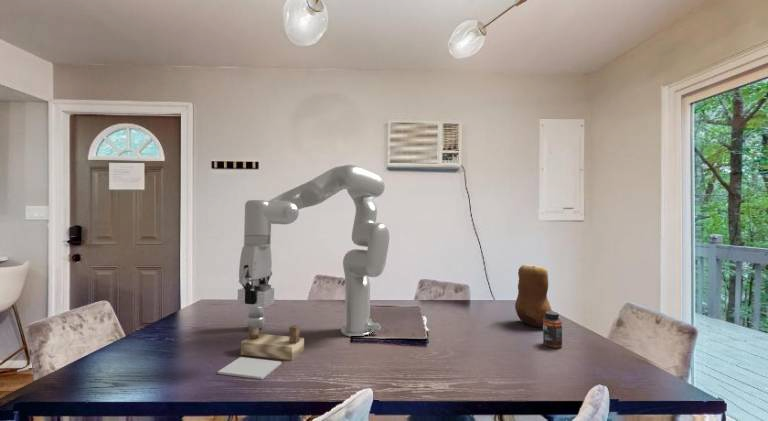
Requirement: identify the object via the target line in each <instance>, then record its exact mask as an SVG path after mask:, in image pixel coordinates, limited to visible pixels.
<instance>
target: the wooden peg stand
mask: <svg viewBox="0 0 768 421" xmlns="http://www.w3.org/2000/svg"><path fill="white" fill-rule="evenodd" d="M288 328H289V330H288V331H289V332H288V335H289V336H287V335H277V334H276V335H275V334H265V333H260V329H259V328H258V327H253V328H250V329H249V328H248V335H247V338H246V339H244V340H242V341H241V342H240V355H243V356H252V357H261V358H270V359H278V360H279V359H280V360H285V361H286V360H287V361H293V360H294V359H295V358H297V357H298V356H299V355H300V354H301V353H302V352H304V351H305V338H304V337H301V336H300V335H301V334H300V333H301V332H300V328H301V325H300V324H292V325H291V326H289V327H288Z"/></svg>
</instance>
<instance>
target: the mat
mask: <svg viewBox="0 0 768 421" xmlns="http://www.w3.org/2000/svg"><path fill="white" fill-rule="evenodd" d="M280 365H282V361H280V360H270V359H263V358H262V359H261V358H254V357H253V358H251V357H243V356H239V357H238V358H236V359H235V360H233V361H232V362H231V363H229V364H227V365H226V366H224V367H222V368H221V369H219V370H218V371H217V375H224V376H225V375H226V376H234V377H241V378H247V379H257V380H263V379H264V378H265V377H267V376H268V375H269V374H270V373H272V372H273V371H274V370H276V369H277V368H278V367H279V366H280Z"/></svg>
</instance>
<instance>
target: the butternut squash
mask: <svg viewBox="0 0 768 421" xmlns="http://www.w3.org/2000/svg"><path fill="white" fill-rule="evenodd" d="M517 275H518V282H517V283H518V284H517V292H518V294H517V297H516V300H515V304H514V309H515V311H516V315H517V317H518V318H519V320H520V321H521V322H522V323H524V324H527V325H529V326H530V327H535V328H538V327H543V319H544V318H545V317H546V312H547V311H552V307H551V304H550V301H549V298H548V292H549V291H548V290H549V276H548V275H549V274H548V270H547V269H546V268H545V267H544V266H540V265H536V264H534V263H533V264H532V263H527V264H525V263H524V264H522V265H520V267H519V269H518V272H517ZM552 312H553V311H552Z"/></svg>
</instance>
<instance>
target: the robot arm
mask: <svg viewBox="0 0 768 421" xmlns="http://www.w3.org/2000/svg"><path fill="white" fill-rule="evenodd" d="M382 178H383V177H381V176H379V175H378V174H377V173H374V172H372V171H369V170H366V169H365V168H362V167H360V166H358V165H357V166H356V165H354V164H347V165H346V164H345V165H340V166H334V167H333V168H331V169H329V170H327V171H325V172H323V173H321V174H319V175H318V176H316V177H314V178H313V179H311V180H308V181H307V182H305V183H301V184H300V185H299V186H296V187H293V188H292V189H290V190H287V191H285V192H283V193H281V194H278V195H277V196H275V197H274V198H272V199H269V200H265V199H264V200H263V199H261V200H260V199H250V200H246V202H245V204H244V231H243V232H244V233H243V245H242V248H241V253H240V259H239V267H238V268H239V270H238V278H239V280H238V283H239V284H240V285H241V286H242V288H244V290H245V304H252V305H254V304H255V298H256V290H254V288H255V283H256V280H258V284H266V285H269V281H270V278H271V277H272V276H273V271H272V249H271V248H272V247H271V245H272V244H271V238H272V237H271V236H272V233H271V232H272V225H289V224H293V223H294V222H295V221H297V219H298V217H299V214H300V212H299V210H301V209H304V208H309V207H313V206H316V205H319V204H322V203H323V202H326V201H327V200H328V199H329V198H331V197H332V196H334V195H336V194H337V193H339V192H341V191H343V190H346V191H347V194H348V195H349V196H350V198H351V199H352V201H353V203H354V206H355V214H354V222H353V225H352V230H351V241H352V243H353V244H354V245H355V246H358V247H365V248H367V249H359V248H358V249H351V250H348V251H346V253H345V254H344V257H343V260H342V267H343V272H344V280H345V283H344V284H345V286H344V287H345V292H344V293H345V299H344V300H345V305H344V306H345V307H344V308H345V310H344V312H345V313H344V318H345V319H344V323H345V324H344V326H342V327H341V329H340V332H341V334H342V335H343V336H345V337H351V336H364V335H368V336H370V335H372V334H373V333H374V332H373V331H375V330H378V331H380V330H381V327H382V326H381V324H380V323H379V322H373V319H372V318H371V283H370V280H369V278H377V277H379V276H380V275H382V274H383V272H384V270H385V267H386V264H387V258H388V257H387V256H388V252H389V250H388V249H389V245H390V232H389V229H388V228H387V227H388V226H386V225H385V224H384V223H381V222H377V215H378V208H377V205H376V203H375V201H374V198H378V197H380V196H382V195H383V193H384V192H385V182H384V180H383V179H382ZM251 282H252V283H251ZM372 332H373V333H372ZM371 333H372V334H371ZM369 334H370V335H369ZM364 337H365V336H364ZM351 338H352V337H351Z"/></svg>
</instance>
